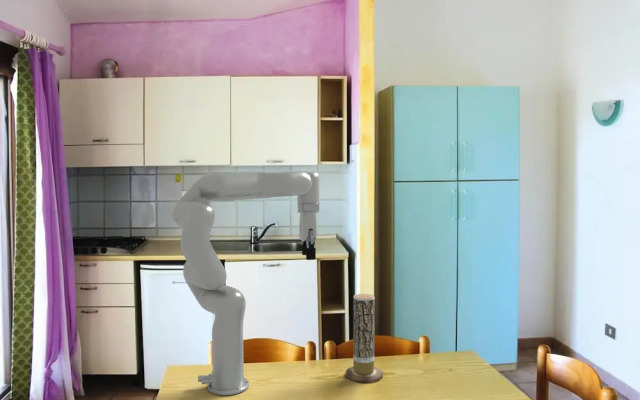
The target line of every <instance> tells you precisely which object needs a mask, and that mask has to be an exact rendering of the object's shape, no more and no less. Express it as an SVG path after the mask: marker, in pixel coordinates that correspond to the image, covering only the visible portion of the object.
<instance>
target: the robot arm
mask: <svg viewBox="0 0 640 400" xmlns="http://www.w3.org/2000/svg"><path fill="white" fill-rule="evenodd" d="M295 196H296V198H297V213H299V224H298V225H299V231H298V238H299V240H301V243H302V244H301V254H302V256H305V260H306V261H313V260H314V261H315V260H316V259H317V257H316V255H317V254H316V252H317V251H316V250H317V249H316V241H317V237H318V236H317V234H318V232H317V231H318V227H317V220H318V219H317V213H320V175H319V173H317V172H315V171H309V172H308V171H305V172H304V171H283V172H265V171H264V172H262V171H252V172H250V171H249V172H247V171H246V172H234V173H233V172H231V173H230V172H229V173H206V174H204V175H203V176H201V177H200V178H199V179H197V180H196V181H195V183H193V184H192V186H191V187H190V188H189V189H188V190H187V191H186V192H185V193H184V195H182V196H181V197H180V198H179V200H178V201H177V202H176V203H175V205H174V207H173V209H172V219H173V220H172V221H174V223H175V225H177V226H179V227H180V228H183V229H182V231H181V237H180V251H181V252H182V254H183V256H184V258H185V260H186V261H185V262H184V265H183V268H182V274H183V278H184V281H185V283H186V284H187V287H188V288H189V289H190V291H191V292H192V294H193V296H194V298H195V299H196V301H197V302H198V304H199V305H200V307H201V308H202V309H204V310H205V311H206V312H209V313H211V314H213V315H214V321H213V324H212V327H211V328H212V329H211V347H212V349H211V353H212V356H211V357H212V370H211V373H208V374H205V375H204V374H202V375H200V374H199V375H198V376H197V383H201V385H206V384H207V390H208V391H209V392H210V393H212V394H213V395H218V396H233V395H237V394H240V393H243V392H245V391H246V390H248V388H249V386H250V382H249V380H248V379H247V378H245V377H244V375H245V374H244V372H245V370H244V369H245V368H244V363H245V362H244V318H245V317H244V316H245V312H246V299H245V296H244V294H243V293H242V292H241V291H240V290H239V289H238V288H235V287H232V286H231V285H230V286H229V285H227V284H226V282H227V279H228V278H227V277H228V276H227V271H226V269H225V266H224V265H223V264H222V263H223V262H221V260H220V258H219V257H218V254H217V253H216V251H215V250H214V248H213V245H212V243H211V240H210V237H211V236H210V235H211V230H212V227H213V225H214V223H215V218H216V214H215V211H214V208H213V207H212V206H211V204H212V202H233V201H244V200H257V199H258V200H259V199H269V198H281V197H282V198H283V197H295Z"/></svg>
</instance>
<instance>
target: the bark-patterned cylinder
mask: <svg viewBox="0 0 640 400" xmlns="http://www.w3.org/2000/svg"><path fill="white" fill-rule="evenodd" d="M352 325H353V331H352V333H353V335H352V338H353V340H352V341H353V351H352V352H353V353H352V354H353V365H352V367H353V370H354V372H355V373H357V374H360V375H368V374H371V373H373V371H374V367H375V295H372V294H368V293H358V294H354V295H353V324H352Z"/></svg>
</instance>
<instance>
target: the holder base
mask: <svg viewBox="0 0 640 400" xmlns="http://www.w3.org/2000/svg"><path fill="white" fill-rule="evenodd" d="M345 376H346V378H347V379H348V380H350V381H352V382H355V383H358V384H359V383H360V384H370V383H376V382H379V381H381V380H382V379H383V370H382V369H380V368H379V367H377V366H374V371H373V373H371V374H368V375H360V374H357V373H355V372H354V370H353V366H350V367H348V368H347V369H346V371H345Z"/></svg>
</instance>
